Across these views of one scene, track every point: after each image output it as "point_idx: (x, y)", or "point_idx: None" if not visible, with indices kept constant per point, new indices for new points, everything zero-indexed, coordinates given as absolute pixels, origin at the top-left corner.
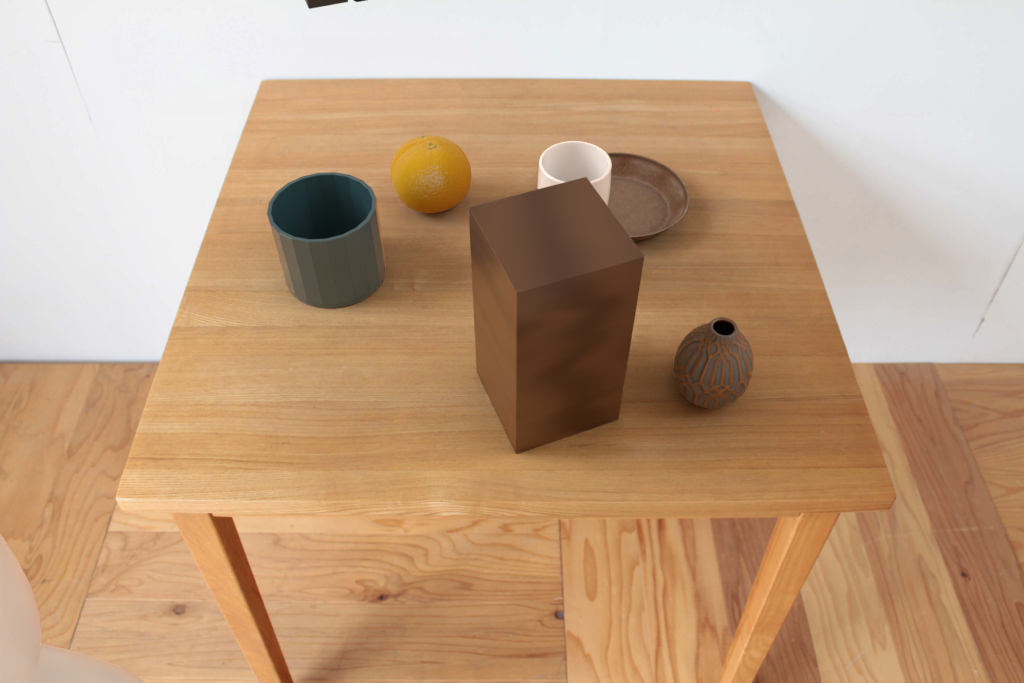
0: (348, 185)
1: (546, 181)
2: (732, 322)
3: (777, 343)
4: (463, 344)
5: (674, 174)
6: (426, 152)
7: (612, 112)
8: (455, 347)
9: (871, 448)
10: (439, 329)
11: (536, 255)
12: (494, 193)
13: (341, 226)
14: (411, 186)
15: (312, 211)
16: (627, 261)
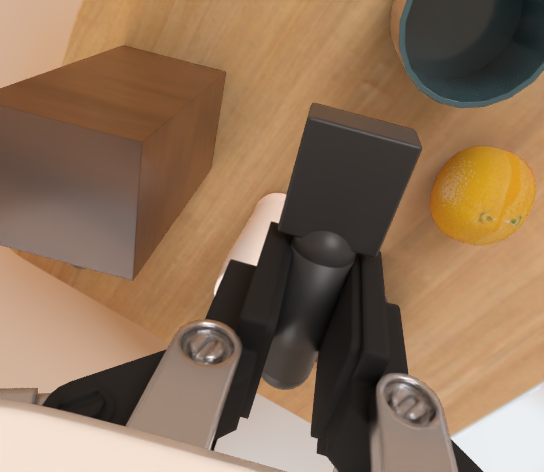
0: (504, 88)
1: (252, 260)
2: (78, 267)
3: (133, 286)
4: (264, 81)
5: (316, 360)
6: (480, 206)
7: (445, 384)
8: (265, 72)
9: (31, 263)
10: (297, 72)
11: (25, 155)
12: (432, 236)
13: (504, 57)
14: (466, 162)
15: (536, 28)
16: None
